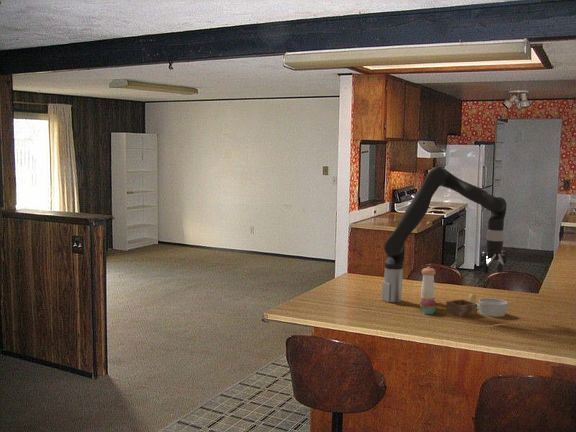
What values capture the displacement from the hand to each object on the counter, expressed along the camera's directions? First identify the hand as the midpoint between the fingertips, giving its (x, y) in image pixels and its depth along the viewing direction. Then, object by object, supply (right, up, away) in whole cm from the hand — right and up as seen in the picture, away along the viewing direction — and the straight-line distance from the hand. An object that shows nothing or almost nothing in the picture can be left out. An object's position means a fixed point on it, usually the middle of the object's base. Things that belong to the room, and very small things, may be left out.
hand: (492, 272), depth 291 cm
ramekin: (0, -21, +1) cm, 21 cm away
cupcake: (-31, -20, +1) cm, 37 cm away
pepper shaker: (-26, -18, +21) cm, 38 cm away
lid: (-6, -18, +13) cm, 23 cm away
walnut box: (-15, -20, 0) cm, 25 cm away
